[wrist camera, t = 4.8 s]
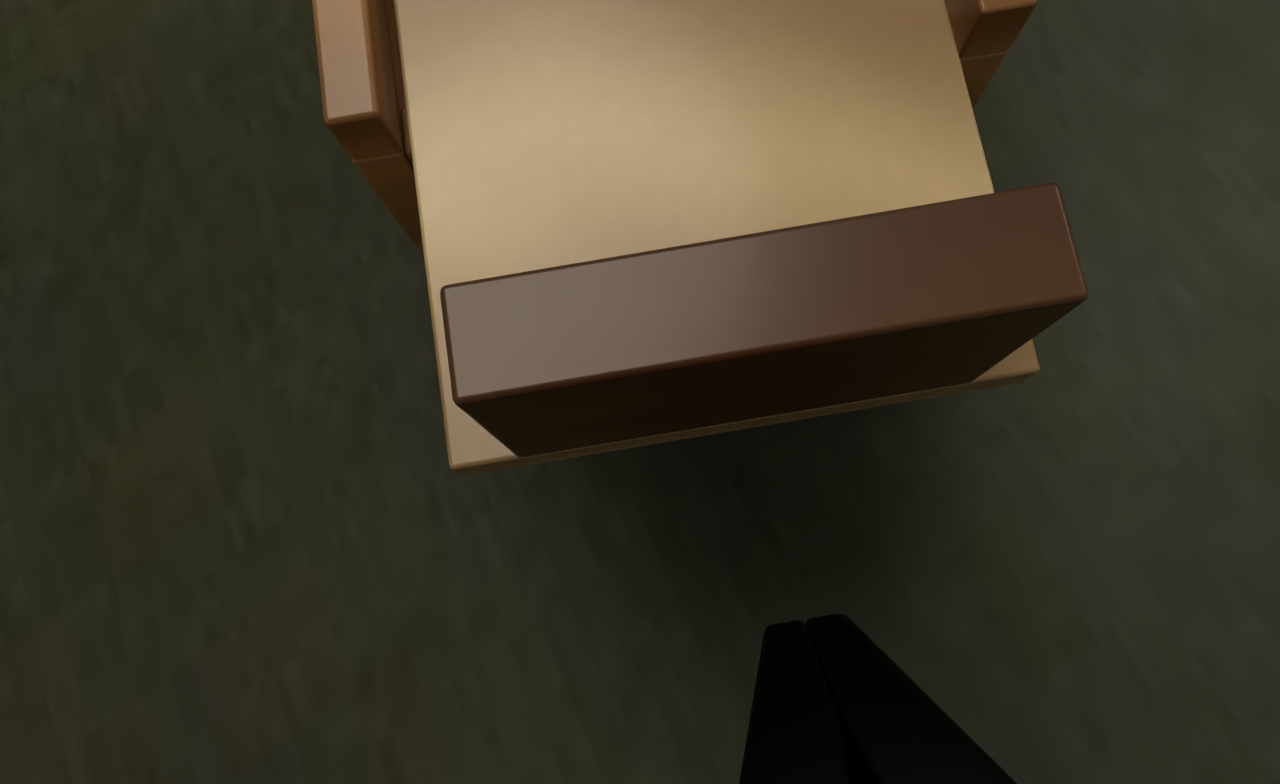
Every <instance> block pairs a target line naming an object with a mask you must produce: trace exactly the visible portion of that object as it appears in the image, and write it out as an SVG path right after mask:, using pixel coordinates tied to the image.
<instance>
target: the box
mask: <svg viewBox="0 0 1280 784" xmlns="http://www.w3.org/2000/svg"><path fill="white" fill-rule="evenodd" d="M944 1H945V4H946V8H947V12H948V16H949V20H950V24H951V28H952V31H953V35H954V39H955V43H956V47H957V51H958V55H959V58H960V62H961V66H962V70H963V74H964V78H965V82H966V85H967V89H968V93H969V97H970V101H971V105H972V109H973V108H974V106H975V104H976V103H977V101H978V100H979V98H980V96H981V95H982V93H983V91H984V90H985V88H986V86H987V85H988V83H989V81H990V80H991V78H992V77H993V75H994V73H995V72H996V70H997V68H998V67H999V65H1000V63H1001V62H1002V60H1003V58H1004V57H1005V55H1006V53H1007V50H1009V49H1010V48H1011V46H1012V44H1013V43H1014V41H1015V39H1016V38H1017V36H1018V34H1019V33H1020V31H1021V29H1022V28H1023V26H1024V25H1025V23H1026V21H1027V20H1028V18H1029V16H1030V15H1031V13H1032V11H1033V10H1034V8H1035V7H1036V4H1037V0H944ZM312 6H313V16H314V27H315V37H316V47H317V57H318V67H319V77H320V87H321V97H322V107H323V117H324V122H325V124H326V126H327V127H328V128H329V130H330V131H331V132H332V134H333V135H334V136H335V138H336V139H337V140H338V142H339V143H340V144H341V146H342V147H343V148H344V150H345V151H346V152H347V154H348V155H349V156H350V158H352V162H353V164H354V165H355V166H356V168H357V169H358V170H359V171H360V173H361V174H362V175H363V177H364V178H365V179H366V181H367V182H368V183H369V185H370V186H371V187H372V189H373V190H374V191H375V193H376V194H377V195H378V197H379V198H380V199H381V201H382V202H383V203H384V204H385V206H386V207H387V208H388V210H389V211H390V212H391V214H392V215H393V216H394V218H395V219H396V220H397V222H398V223H399V224H400V226H401V227H402V228H403V230H404V231H405V232H406V234H407V235H408V236H409V237H410V239H411V240H412V241H413V243H414V244H415V245H416V247H417V248H418V249H419V251H420V252H421V253H422V255H423V256H424V253H423V244H422V236H421V228H420V219H419V211H418V203H417V194H416V186H415V178H414V169H413V161H412V153H411V144H410V136H409V128H408V119H407V111H406V102H405V94H404V86H403V77H402V69H401V61H400V52H399V44H398V36H397V27H396V19H395V11H394V2H393V0H312Z"/></svg>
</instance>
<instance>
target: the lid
mask: <svg viewBox="0 0 1280 784" xmlns="http://www.w3.org/2000/svg"><path fill="white" fill-rule="evenodd" d="M393 2H394V11H395V19H396V27H397V36H398V44H399V52H400V61H401V69H402V77H403V86H404V94H405V102H406V111H407V119H408V128H409V136H410V144H411V153H412V161H413V169H414V178H415V186H416V194H417V203H418V211H419V219H420V228H421V236H422V244H423V253H424V261H425V269H426V278H427V286H428V294H429V303H430V311H431V320H432V328H433V336H434V345H435V353H436V361H437V370H438V378H439V386H440V395H441V403H442V411H443V420H444V428H445V436H446V445H447V453H448V461H449V467H450V468H451V470H453V471H455V472H457V473H459V474H460V475H464V476H465V475H471V474H477V473H483V472H489V471H495V470H501V469H507V468H513V467H519V466H525V465H531V464H537V463H543V462H549V461H555V460H561V459H567V458H573V457H579V456H585V455H591V454H597V453H603V452H609V451H615V450H621V449H627V448H633V447H639V446H645V445H651V444H657V443H663V442H669V441H675V440H681V439H687V438H693V437H699V436H705V435H711V434H717V433H723V432H729V431H735V430H741V429H747V428H753V427H759V426H765V425H771V424H777V423H783V422H789V421H795V420H801V419H807V418H813V417H819V416H825V415H831V414H837V413H843V412H849V411H855V410H861V409H867V408H873V407H879V406H885V405H891V404H897V403H903V402H909V401H915V400H921V399H927V398H933V397H939V396H945V395H951V394H957V393H963V392H969V391H975V390H981V389H987V388H993V387H999V386H1005V385H1011V384H1017V383H1021V382H1023V381H1024V380H1026V379H1028V378H1029V377H1031V376H1033V375H1034V374H1036V373H1037V372H1039V369H1040V367H1039V363H1038V359H1037V355H1036V351H1035V347H1034V344H1033V340H1032V338H1034V337H1035V336H1036V335H1038V334H1039V333H1041V332H1042V331H1043V330H1045V329H1046V328H1048V327H1049V326H1050V325H1052V324H1053V323H1054V322H1056V321H1057V320H1059V319H1060V318H1061V317H1063V316H1064V315H1066V314H1067V313H1068V312H1070V311H1071V310H1073V309H1074V308H1075V307H1077V306H1078V305H1080V304H1081V303H1082V302H1084V301H1085V300H1087V298H1088V290H1087V286H1086V282H1085V279H1084V275H1083V271H1082V268H1081V264H1080V261H1079V257H1078V253H1077V250H1076V246H1075V242H1074V239H1073V235H1072V232H1071V228H1070V224H1069V221H1068V217H1067V213H1066V210H1065V206H1064V203H1063V199H1062V195H1061V192H1060V188H1059V186H1058V185H1057V184H1053V183H1051V184H1045V185H1039V186H1033V187H1027V188H1021V189H1015V190H1009V191H1003V192H997V193H994V189H993V186H992V182H991V178H990V174H989V170H988V166H987V162H986V159H985V155H984V151H983V147H982V143H981V139H980V135H979V132H978V128H977V124H976V120H975V116H974V112H973V109H972V105H971V101H970V97H969V93H968V89H967V85H966V82H965V78H964V74H963V70H962V66H961V62H960V58H959V55H958V51H957V47H956V43H955V39H954V35H953V31H952V28H951V24H950V20H949V16H948V12H947V8H946V4H945V1H944V0H393Z"/></svg>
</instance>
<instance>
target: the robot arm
mask: <svg viewBox="0 0 1280 784" xmlns="http://www.w3.org/2000/svg"><path fill="white" fill-rule="evenodd" d="M739 784H1017V783H1016V782H1015V781H1014V780H1013V779H1012V778H1011V777H1010V776H1009V775H1008V774H1007V773H1006V772H1005V771H1004V770H1003V769H1002V768H1001V767H1000V766H999V765H998V764H997V763H996V762H995V761H994V760H993V759H992V758H991V757H990V756H989V755H988V754H987V753H986V752H985V751H984V750H983V749H981V748H980V747H979V746H978V745H977V744H976V743H975V742H974V741H973V740H972V739H971V738H970V737H969V736H968V735H967V734H966V733H965V732H964V731H963V730H962V729H961V728H960V727H959V726H958V725H957V724H956V723H955V722H954V721H953V720H952V719H951V718H950V717H949V716H948V715H947V714H946V713H945V712H944V711H943V710H942V709H941V708H940V707H939V706H938V705H937V704H936V703H935V702H934V701H933V700H932V699H931V698H930V697H929V696H928V695H927V694H926V693H925V692H924V691H923V690H922V689H921V688H920V687H919V686H918V685H917V684H916V683H915V682H914V681H913V680H912V679H911V678H910V677H909V676H908V675H907V674H906V673H905V672H904V671H903V670H902V669H901V668H900V667H899V666H898V665H897V664H896V663H895V662H894V661H892V660H891V659H890V658H889V657H888V656H887V655H886V654H885V653H884V652H883V651H882V650H881V649H880V648H879V647H878V646H877V645H876V644H875V643H874V642H873V641H872V640H871V639H870V638H869V637H868V636H867V635H866V634H865V633H864V632H863V631H862V630H861V629H860V628H859V627H858V626H857V625H856V624H855V623H854V622H853V621H852V620H851V619H850V618H849V617H848V616H846V615H844V614H832V615H826V616H820V617H814V618H810V619H809V620H808V621H807V622H806V624H804V623H803V622H802V621H800V620H796V621H790V622H784V623H778V624H772V625H769V626H767V627H766V629H765V631H764V636H763V642H762V649H761V655H760V661H759V667H758V673H757V679H756V685H755V691H754V697H753V703H752V709H751V715H750V721H749V727H748V733H747V740H746V746H745V752H744V758H743V764H742V770H741V776H740V782H739Z"/></svg>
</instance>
